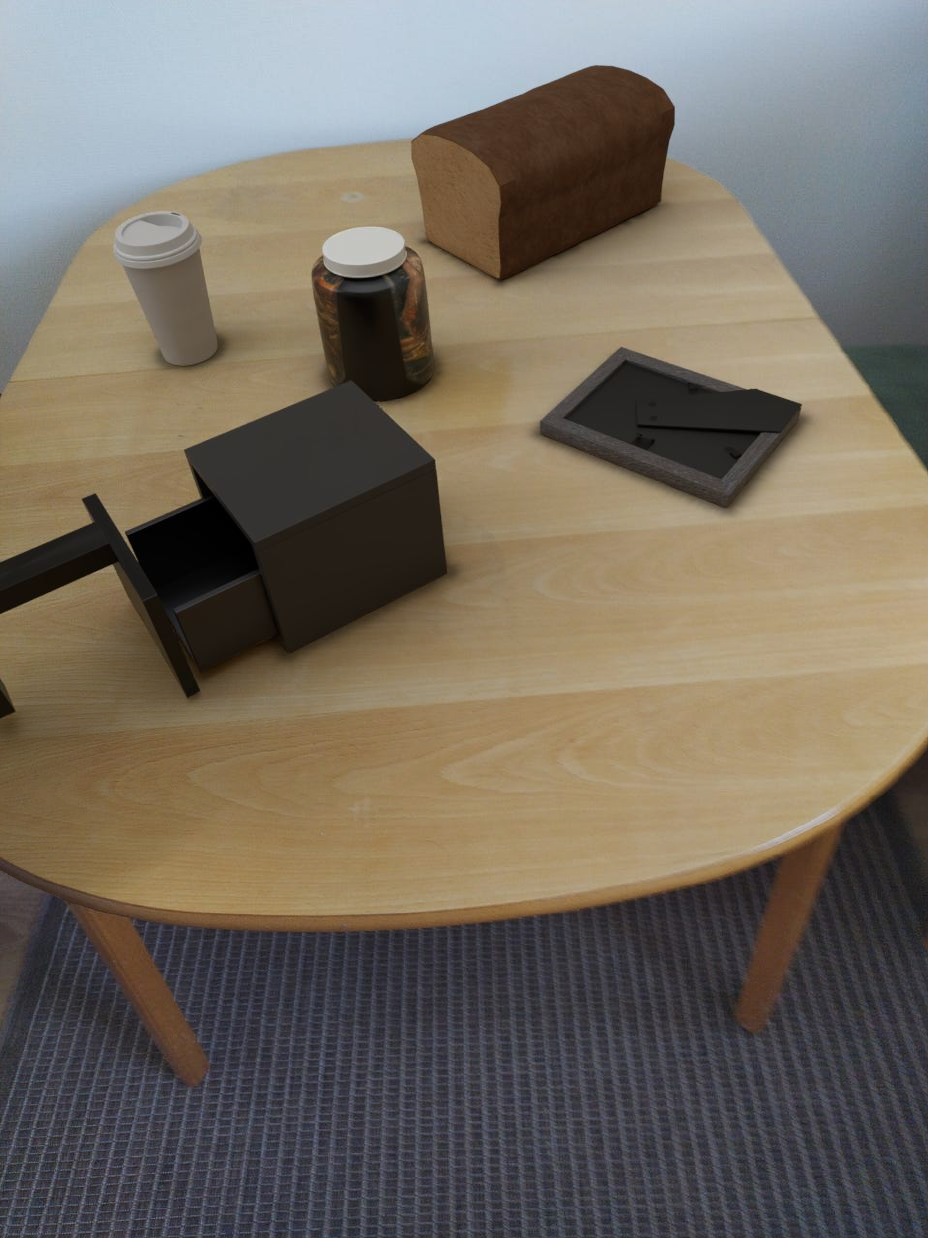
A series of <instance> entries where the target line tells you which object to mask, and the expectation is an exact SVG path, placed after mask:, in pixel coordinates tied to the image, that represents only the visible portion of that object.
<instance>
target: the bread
mask: <svg viewBox="0 0 928 1238" xmlns="http://www.w3.org/2000/svg"><path fill="white" fill-rule="evenodd" d="M675 121H676V106H675V104H674V103H673V102H672V100H671V99H670V97H669V95H668V94H667V92H666V90H665V89H664V88H663V87H661V86H660V85H659V84H657V83H656V82H654V81H652V80H651V79H649V78H648V77H647V76H644V75H642V74H640V73H637V72H635V71H632V70H630V69H626V68H623V67H619V66H615V65H603V64H601V65H599V64H594V65H590V66H587V67H584V68H582V69H578V70H577V71H573V72H571V73H568V74H566V75H564V76H562V77H559V78H557V79H554V80H552V81H550V82H547V83H544V84H542V85H539V86H536V87H533V88H531V89H529V90H527V91H525V92H523V93H521V94H519V95H516V96H513V97H509V98H507V99H504V100H503V101H500V102H497V103H495V104H492V105H490V106H487V107H485V108H483V109H480V110H476V111H473V112H469V113H467V114H464V115H461V116H459V117H456V118H454V119H451V120H447V121H445V122H442V123H439V124H436V125H433V126H431V127H429V128H427V129H426V130H423V131H422V132H420V133H419V134H418V135H416V137H414V138H413V139H412V140H411V141H410V144H411V145H410V151H411V152H410V153H411V155H410V156H411V162H412V165H413V169H414V173H415V176H416V180H417V185H418V190H419V196H420V202H421V208H422V209H421V210H422V216H423V224H424V225H423V226H424V232H425V239H426V240H428V241H429V242H430V243H432V244H433V245H434V246H436V247H438V248H440V249H441V250H443V251H445V252H447V253H448V254H451V255H453V256H454V257H456V258H458V259H459V260H461V261H463V262H465V263H467V264H468V265H470V266H472V267H474V268H476V269H478V270H479V271H482V272H483V273H485V274H487V275H488V276H490V277H492V278H494V279H497V280H500V281H501V280H503V279H506V278H508V277H510V276H512V275H516V274H517V273H519V272H521V271H523V270H525V269H527V268H529V267H531V266H533V265H535V264H537V263H540V262H541V261H544V260H545V259H547V258H550V257H552V256H554V255H557V254H558V253H562V252H563V251H565V250H567V249H570V248H571V247H573V246H575V245H577V244H579V243H581V242H583V241H584V240H587V239H590V238H592V237H594V236H596V235H598V234H600V233H603V232H604V231H606V230H608V229H610V228H612V227H614V226H616V225H617V224H620V223H622V222H623V221H626V220H628V219H630V218H632V217H634V216H636V215H639V214H640V213H643V212H644V211H646V210H648V209H650V208H653V207H654V206H656V205H658V204H659V203H661V202H662V193H663V191H662V190H663V183H664V174H665V168H666V163H667V158H668V151H669V146H670V140H671V137H672V134H673V131H674V129H675V124H676V122H675Z"/></svg>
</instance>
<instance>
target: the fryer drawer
mask: <svg viewBox="0 0 928 1238" xmlns="http://www.w3.org/2000/svg"><path fill="white" fill-rule="evenodd" d="M81 501H82V504H83V506H84V508H85V510H86V511H87V514H88V517H89V518H90V520H91V523H88V524H86V525H84V526H81V527H79V528H77V529H74V530H72V531H70V532H67V533H65V534H63V535H61V536H58V537H56V538H53V539H51V540H48V541H46V542H44V543H42V544H40V545H37V546H35V547H32V548H30V549H27V550H25V551H23V552H20V553H18V554H16V555H14V556H11V557H9V558H7V559H5V560H2V561H0V615H2V614H4V613H7V612H8V611H11V610H13V609H16V608H18V607H20V606H23V605H24V604H27V603H29V602H31V601H34V600H36V599H38V598H41V597H43V596H45V595H47V594H49V593H51V592H54V591H56V590H58V589H60V588H63V587H65V586H68V585H70V584H71V583H74V582H76V581H79V580H81V579H83V578H85V577H88V576H90V575H92V574H94V573H97V572H99V571H101V570H103V569H105V568H107V567H110V566H113V568H114V570H115V572H116V574H117V576H118V579H119V581H120V583H121V585H122V587H123V590H124V591H125V593H126V595H127V598H128V599H129V600H130V603H131V605H132V606H133V607H134V609H135V611H136V613H137V614H138V616H139V618H140V620H141V621H142V623H143V625H144V626H145V628H146V630H147V632H148V633H149V635H150V637H151V639H152V641H153V642H154V644H155V646H156V647H157V650H158V651H159V652H160V654H161V656H162V657H163V660H164V661H165V662H166V664H167V666H168V668H169V669H170V671H171V673H172V674H173V675H172V676H174V679H175V680H176V681H177V683H178V685H179V686H180V689H181V690H182V692H183V693H184V695H185V697H186V698H187V699H189V698H191V697H193V696H195V695H196V694H198V693H200V692H201V689H200V686H199V684H198V682H197V680H196V677H195V675H194V672H193V671H192V668H191V666H190V663H189V661H188V659H187V657H186V654H185V653H184V650H183V648H182V645H181V643H182V644H183V647H184V648H185V650H186V651H187V653H188V654H189V656H190V658H191V659H192V661H193V662H194V664H195V666H196V667H197V669H198V671H199V672H200V673H203V672H205V671H207V670H209V669H211V668H213V667H215V666H217V665H219V664H221V663H222V662H225V661H227V660H229V659H231V658H233V657H235V656H237V655H239V654H240V653H241V654H242V653H243V652H245V651H247V650H249V649H251V648H253V647H256V646H257V645H259V644H261V643H262V642H265V641H267V640H269V639H271V638H273V637H274V636H276V635H277V634H279V630H278V626H277V623H276V620H275V617H274V614H273V611H272V608H271V604H270V601H269V598H268V595H267V592H266V589H265V585H264V582H263V579H262V576H261V573H260V570H259V566H258V563H257V560H256V557H255V554H254V551H253V547H252V545H251V543H250V542H249V541H248V539H247V538H246V537H245V535H244V534H243V533H242V531H241V530H240V529H239V527H238V526H237V525H236V523H235V522H234V521H233V519H232V518H231V517H230V515H229V514H228V513H227V511H226V510H225V509H224V507H223V506H222V505H221V503H220V502H219V501H218V499H217V498H216V497H215V495H214V494H213V493H212V494H210V495H208V496H205V497H203V498H201V497H200V498H198V499H196V500H194V501H192V502H189V503H187V504H185V505H183V506H180V507H178V508H176V509H173V510H171V511H169V512H167V513H164V514H162V515H160V516H157V517H154V518H152V519H150V520H148V521H146V522H143V523H141V524H139V525H136V526H134V527H131V528H130V529H127V530H126V531H124V534H125V537H126V538H127V541H128V542H126V540H125V538H124V537H123V535H122V533H121V531H120V530H119V528H118V527H117V525H116V524H115V522H114V520H113V518H112V517H111V516H110V514H109V512H108V511H107V509H106V508H105V506H104V504H103V503H102V501H101V499H100V498H99V496H98V495H97V493H92V494H90V495H87V496H84V497H82V498H81ZM128 543H129V545H130V546H129V545H128ZM130 547H131V548H130ZM131 549H132V550H131ZM179 639H180V641H179ZM180 642H181V643H180ZM15 712H16V708H15V706H14V703H13V701H12V699H11V696H10V694H9V691H8V689H7V687H6V685H5V683H4V682H3V681H2V679H1V678H0V720H1V719H4V718H5V717H8V716H10V715H12V714H13V713H15Z"/></svg>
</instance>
